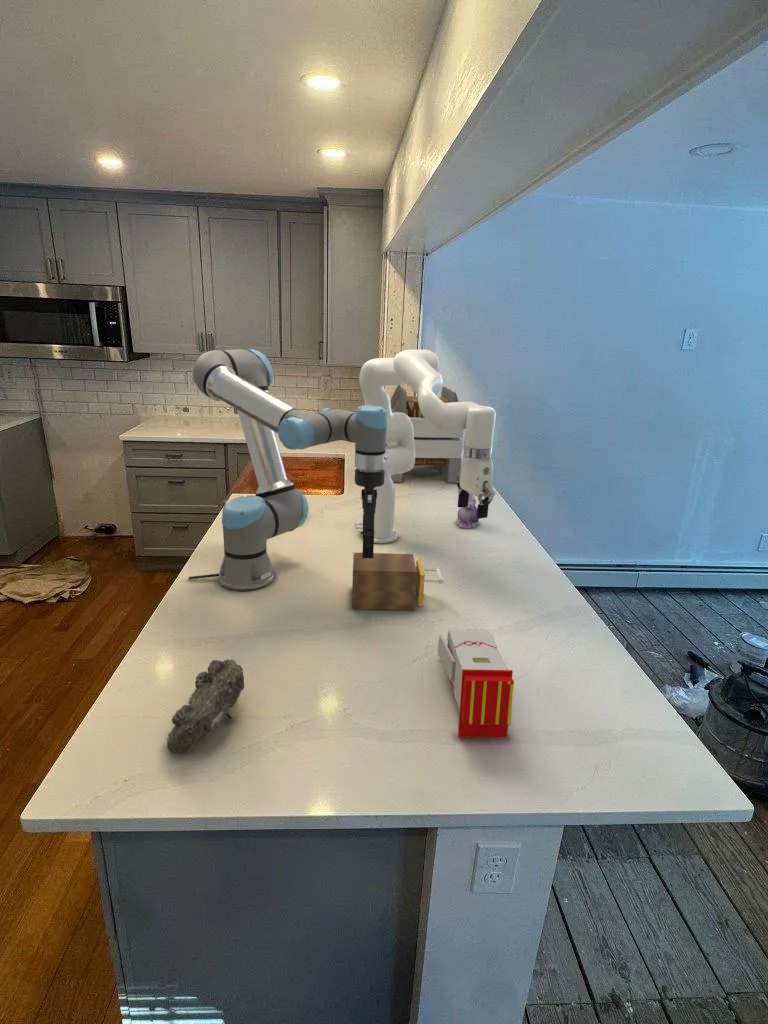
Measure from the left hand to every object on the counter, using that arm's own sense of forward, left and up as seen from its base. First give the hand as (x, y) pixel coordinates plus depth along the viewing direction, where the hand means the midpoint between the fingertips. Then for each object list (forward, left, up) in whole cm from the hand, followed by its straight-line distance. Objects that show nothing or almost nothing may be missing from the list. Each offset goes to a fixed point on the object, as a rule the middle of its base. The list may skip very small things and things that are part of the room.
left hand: (367, 547), depth 149 cm
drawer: (+10, +3, -14) cm, 18 cm away
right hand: (+25, +19, +6) cm, 32 cm away
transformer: (-7, +130, -15) cm, 131 cm away
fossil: (-16, -54, -15) cm, 58 cm away
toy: (+31, -32, -15) cm, 47 cm away
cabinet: (+4, +1, -15) cm, 16 cm away
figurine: (+22, +67, -15) cm, 72 cm away
